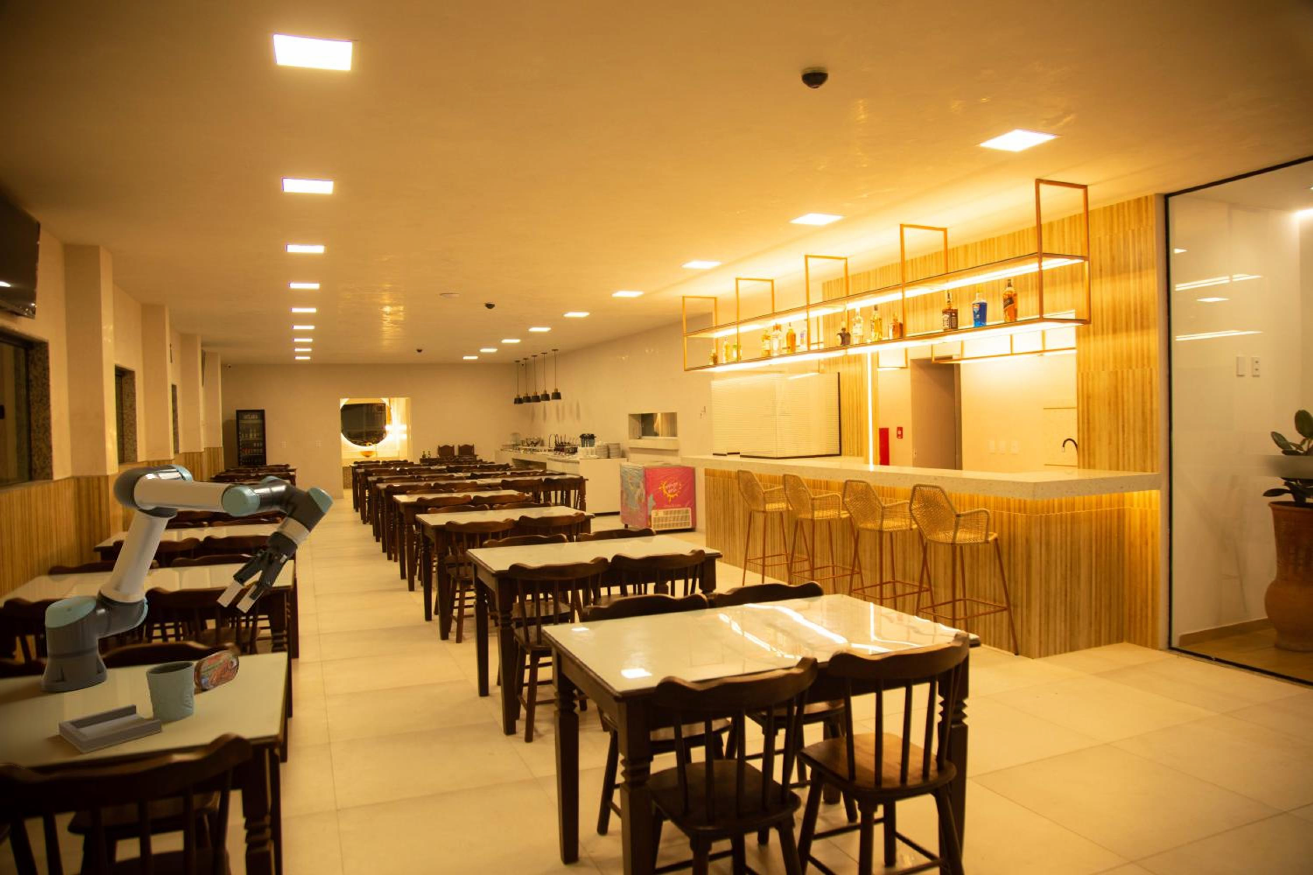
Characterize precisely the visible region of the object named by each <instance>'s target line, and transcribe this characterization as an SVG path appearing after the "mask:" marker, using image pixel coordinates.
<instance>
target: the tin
mask: <svg viewBox="0 0 1313 875" xmlns="http://www.w3.org/2000/svg"><path fill="white" fill-rule="evenodd" d="M239 668H240V660H239V656H238V653H236V651H234V650H232V649H227V650H221V651H218V652H215V653H213V654H211V655H208V656H206V657H204V658H201V659H199V660H198V661H197V662H196V663H195V664H194V683H193V684H194V685H195V686H196V688H198V689H200V690H213V689H215V688H217V686H218V685H220V686H221V684H222V685H223V683H224V684H226V683H228V682H230V681H232V680H233V679H234V678H235V677H236V676H237V674H238V672H239ZM225 682H226V683H225ZM218 687H219V686H218Z"/></svg>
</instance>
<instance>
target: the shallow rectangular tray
mask: <svg viewBox="0 0 1313 875" xmlns="http://www.w3.org/2000/svg"><path fill="white" fill-rule="evenodd" d="M58 731H59V732H58V733H59V734H58V735H60V736H61V737H62V738H64V739H65V740H66V741H67V742H69V743H70V744H71V745H72V746H74V747H75V748H76V749H78V750H79V752H81V753H82V754H87V753H90V752H94V751H97V750H102V749H105V748H108V747H111V746H115V745H119V744H122V743H125V741H126V742H129V741H133V739H134V740H137V739H140V738H143V737H148V736H151V735H150V734H152V735H154V734H159V733H161V732H163V722H162V721H161V720H160V719H157V720H154V719H153V720H148V719H146V718H145V717H143V716H141V715H140V714H138V713H137V705H136V704H133V703H132V704H129V705H125V706H122V707H118V708H113V709H110V710H106V711H101V712H98V713H93V714H90V715H86V716H82V717H81V716H80V717H77V718H73V719H69V720H66V721H62V722H59V723H58ZM158 732H159V733H158ZM147 735H148V736H147ZM136 738H137V739H136Z"/></svg>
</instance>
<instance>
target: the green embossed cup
mask: <svg viewBox="0 0 1313 875" xmlns="http://www.w3.org/2000/svg"><path fill="white" fill-rule="evenodd" d="M194 667H195V663H194V662H192V661H188V660H187V661H186V660H185V661H184V660H183V661H173V662H168V663H162V664H159V665H156V666H152V667H150V668H148V669H147V670H146V672H145V674H146V675H145V677H146V680H147V686H148V690H149V698H150V702H151V708H152V716H153V720H157V719H160V720H161V721H162V723H171V722H175V721H176V722H177V721H180V720H184V719H186V718H188V717H191V716H192V715H194V713H195V699H194V698H195V697H194V696H195V686H194V684H195V683H194Z"/></svg>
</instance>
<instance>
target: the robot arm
mask: <svg viewBox="0 0 1313 875" xmlns="http://www.w3.org/2000/svg"><path fill="white" fill-rule="evenodd" d="M112 493H113V497H114V499H115V500H116V501H117V503H118V504H119V505H120V506H122V507H124V508H127V509H130V510H134V511H135V513H134V515H133V517H132V521H131V523H130V526H129V529H128V531H127V534H126V536H125V539H124V541H123V544H122V547H121V549H120V552H119V554H118V557H117V560H116V562H115V564H114V567H113V570H112V571H111V575H110V577H109V580H107V581H105V582H104V583H102V584H101V585H100V586H99V589H98V591H97V594H96V596H95V597H94V596H93V595H78V596H77V595H76V596H73V597H69V598H64V599H61V600H58V601H56V602H54V603H51V604H50V605H49V606H48V607H47V608H46V610H45V621H44V626H45V633H46V634H45V635H46V636H45V637H46V651H47V662H46V666H45V669H44V671H43V672H44V673H43V676H42V679H41V690H42V691H43V692H49V693H56V692H57V693H58V692H59V693H60V692H69V691H74V690H75V691H76V690H80V689H85V688H88V687H91V686H95V685H98V684H100V683H102V682H104V681H106V680H107V679H108V671H107V670H108V669H107V667H106V664H105V663H104V661H103V658H102V657H101V654H100V652H99V642H98V640H99V639H103V638H105V637H110V636H113V635H117V634H121V633H125V632H129V630H132V629H134V628H136V627H139V625H141V623H142V622H143V621H144V619H146V616H147V614H148V609H149V608H148V607H149V606H148V604H147V603H148V600H147V597H146V593H145V591H144V590H143V588H142V587H143V586H144V582H145V580H146V578H147V575H148V572H149V570H150V567H151V565H152V562H153V560H154V557H155V555H156V552H157V550H158V547H159V544H160V542H161V539H162V537H163V534H164V532H165V530H166V527H167V525H168V522H169V520H171V519H173V518H175V517H177V515H178V513H179V510H191V511H192V510H193V511H204V512H216V513H217V512H219V513H227V514H228V515H230V516H232V517H247V516H250V515H254V514H259V513H260V514H261V513H265V512H272V511H280V512H282V513H285V515H286V516H285V517H284V519H282V521H281V523H279V525H278V526H277V527H276V531H273V532H272V533H271V535H270V536H269V537H268V538H267V539H266V542H265V543H266V545H267V546H268V548H267V549H266V550H265V551H264V550H263V549H259V550H258V551H257V552H256V553H255V555H254V556H252V558H251V559H249V560H248V561H247V562H246V563H245V564H244V565H243V566H242V567H240V569H239V570H237V572H235V573H234V574H233V576H232V578H233V581H232V582H231V583H230V585H228V587H227V588H226V589H225V591H223V593H222V594H221V595H220V596H219V598H218V599H217V600H216V602H218V603H219V604H220V605H221V606H223V607H224V608H227V607H228V606H229V605H230V603H231V602H232V601H233V600H234V598H235V597H236V596H237V594H238V593H239V592H240V591H241V590H242V589H243V588H244V587H245V585H246V583H247V582H248V581H249V580H250V579H252V578H253V577H254V576H256V575H257V574H258V573H259V572H261V573H260V575H259V578H258V580H256V581H255V582H254V584H253V585H252V586H251V588H250V589H249V590H248V591H247V592H246V593H245V594H244V596H243V597H242V598H241V600H240V601H239V602H238V604H237V605H236V607H237V608H238V609H239V610H240V611H242V612H243V613H245V614H246V613H247V612H248V611H249V609H250V608H251V607H252V605H253V604H254V603H255V602H256V601H257V599H258V598H259V597H260V596H261V594H262V593H263V592H264V591H266V590H270V589H271V588H273V586H274V584H275V582H276V580H277V579H278V577H279V576H280V574H281V572H282V570H283V568H284V566H285V565H286V564H287V562H288V561H289V560H290V558H292V556H293V555H294V554H295V552H296V551H297V550H298V548H299V546H300V545H302V543H303V542H304V541H307V539H308V538H307V537H308V536H309V535H310V533H311V532H312V531H313V530H314V528H316V526H317V525H318V523H320V521H321V520H322V519H323V518H324V517H325V516H326V515H327V513H328V512H329V510H330V508H331V507H332V505H334V504H333V503H334V502H333V501H334V500H333V498H332V497H331V495H329V493H327V492H326V491H325V490H323V489H322V488H320V487H316V486H311V487H310V488H309V489H308V490H303V489H300V488H298V487H296V486H295V485H293V484H291V483H289V482H287V481H285V479H282V478H279V477H276V476H273V475H270V476H266V477H265V478H264V479H261V481H259V483H258V484H253V485H250V484H249V485H245V484H232V483H217V482H206V481H205V482H204V481H203V482H202V481H195V480H194V478H193V475H192V473H191V472H190V471H189V470H188V469H187V468H186V467H184V466H181V465H178V464H163V465H154V466H153V465H152V466H142V467H139V466H137V467H132V468H129V469H127V470H125V471H123V472H122V473H121V474H120V475H118V476H117V477H116V479H115V481H114V483H113V488H112Z"/></svg>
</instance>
